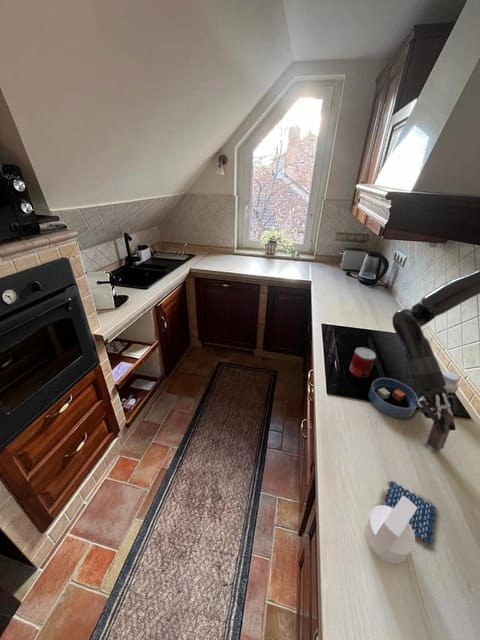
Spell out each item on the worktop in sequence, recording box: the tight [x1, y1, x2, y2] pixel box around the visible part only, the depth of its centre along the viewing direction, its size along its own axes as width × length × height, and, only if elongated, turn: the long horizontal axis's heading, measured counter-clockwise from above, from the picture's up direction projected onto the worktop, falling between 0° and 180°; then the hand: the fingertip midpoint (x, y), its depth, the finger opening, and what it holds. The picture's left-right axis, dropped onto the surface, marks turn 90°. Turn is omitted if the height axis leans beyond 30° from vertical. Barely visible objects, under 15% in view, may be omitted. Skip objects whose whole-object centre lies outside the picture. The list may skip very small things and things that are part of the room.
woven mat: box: [382, 480, 437, 545], centre depth 63 cm, size 10×11×2 cm
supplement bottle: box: [442, 370, 460, 393], centre depth 93 cm, size 7×7×13 cm
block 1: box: [375, 388, 391, 400], centre depth 96 cm, size 3×3×3 cm
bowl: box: [367, 377, 419, 419], centre depth 93 cm, size 15×15×6 cm
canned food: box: [349, 346, 377, 379], centre depth 106 cm, size 8×8×11 cm
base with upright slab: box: [363, 496, 417, 565], centre depth 56 cm, size 9×9×12 cm
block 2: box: [391, 389, 406, 402], centre depth 95 cm, size 3×3×3 cm
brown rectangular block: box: [426, 409, 455, 452], centre depth 75 cm, size 3×3×12 cm
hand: (447, 430), depth 73 cm, fingers closed on brown rectangular block, 3 cm apart
